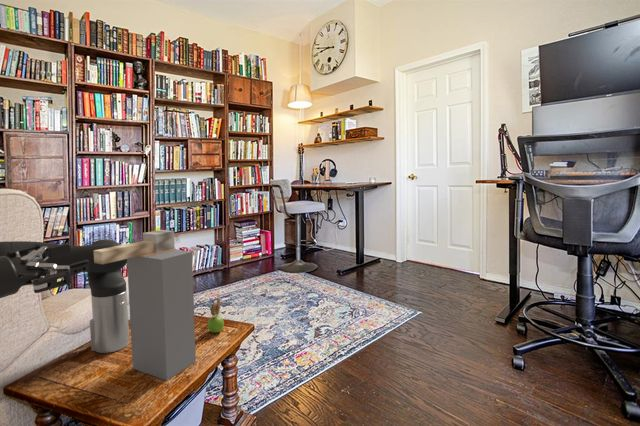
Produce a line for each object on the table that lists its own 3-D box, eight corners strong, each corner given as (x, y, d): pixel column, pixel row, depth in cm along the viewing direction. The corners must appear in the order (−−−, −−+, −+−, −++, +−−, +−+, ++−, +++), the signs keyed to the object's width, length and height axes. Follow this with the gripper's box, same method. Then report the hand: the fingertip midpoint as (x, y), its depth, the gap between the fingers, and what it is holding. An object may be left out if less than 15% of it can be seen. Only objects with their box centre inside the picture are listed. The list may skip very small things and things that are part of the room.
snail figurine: (227, 327, 121) (226, 294, 119) (220, 336, 114) (219, 301, 113) (212, 326, 121) (211, 293, 120) (204, 335, 115) (203, 300, 114)
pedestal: (167, 380, 89) (161, 258, 86) (132, 368, 95) (126, 253, 91) (195, 361, 98) (192, 250, 95) (163, 351, 104) (158, 246, 100)
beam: (105, 264, 79) (104, 243, 79) (91, 262, 82) (90, 241, 81) (174, 248, 98) (173, 231, 97) (161, 247, 100) (161, 229, 99)
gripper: (-9, 283, 57) (96, 254, 71) (-39, 248, 64) (62, 227, 77) (-3, 319, 60) (96, 285, 73) (-33, 282, 66) (64, 256, 80)
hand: (78, 255), depth 75 cm, fingers open, 8 cm apart
